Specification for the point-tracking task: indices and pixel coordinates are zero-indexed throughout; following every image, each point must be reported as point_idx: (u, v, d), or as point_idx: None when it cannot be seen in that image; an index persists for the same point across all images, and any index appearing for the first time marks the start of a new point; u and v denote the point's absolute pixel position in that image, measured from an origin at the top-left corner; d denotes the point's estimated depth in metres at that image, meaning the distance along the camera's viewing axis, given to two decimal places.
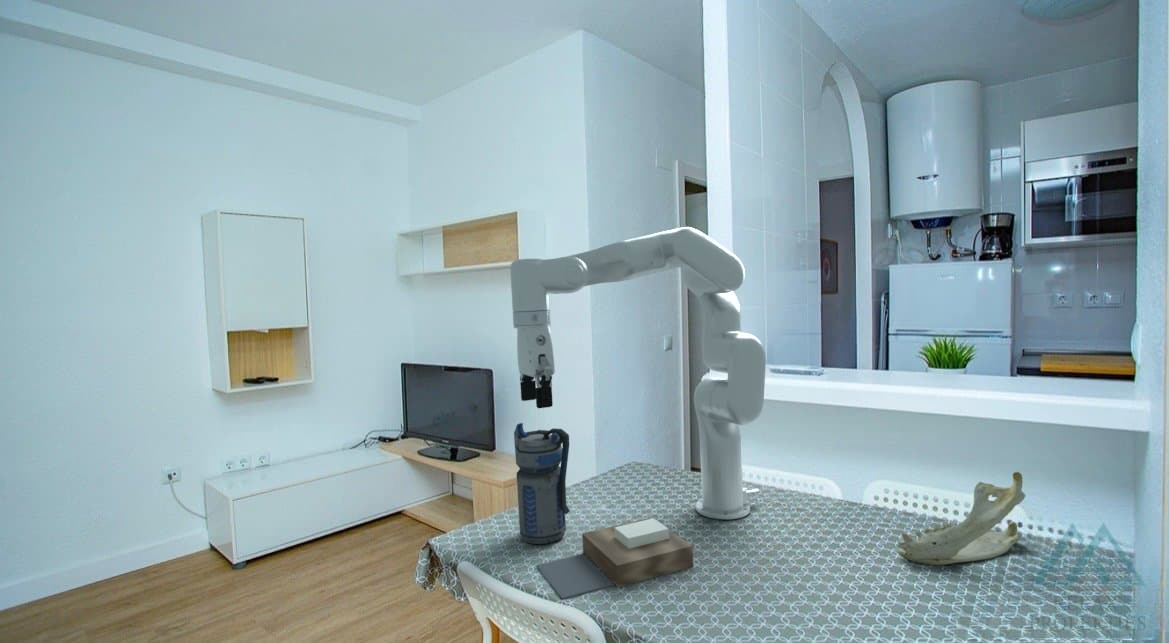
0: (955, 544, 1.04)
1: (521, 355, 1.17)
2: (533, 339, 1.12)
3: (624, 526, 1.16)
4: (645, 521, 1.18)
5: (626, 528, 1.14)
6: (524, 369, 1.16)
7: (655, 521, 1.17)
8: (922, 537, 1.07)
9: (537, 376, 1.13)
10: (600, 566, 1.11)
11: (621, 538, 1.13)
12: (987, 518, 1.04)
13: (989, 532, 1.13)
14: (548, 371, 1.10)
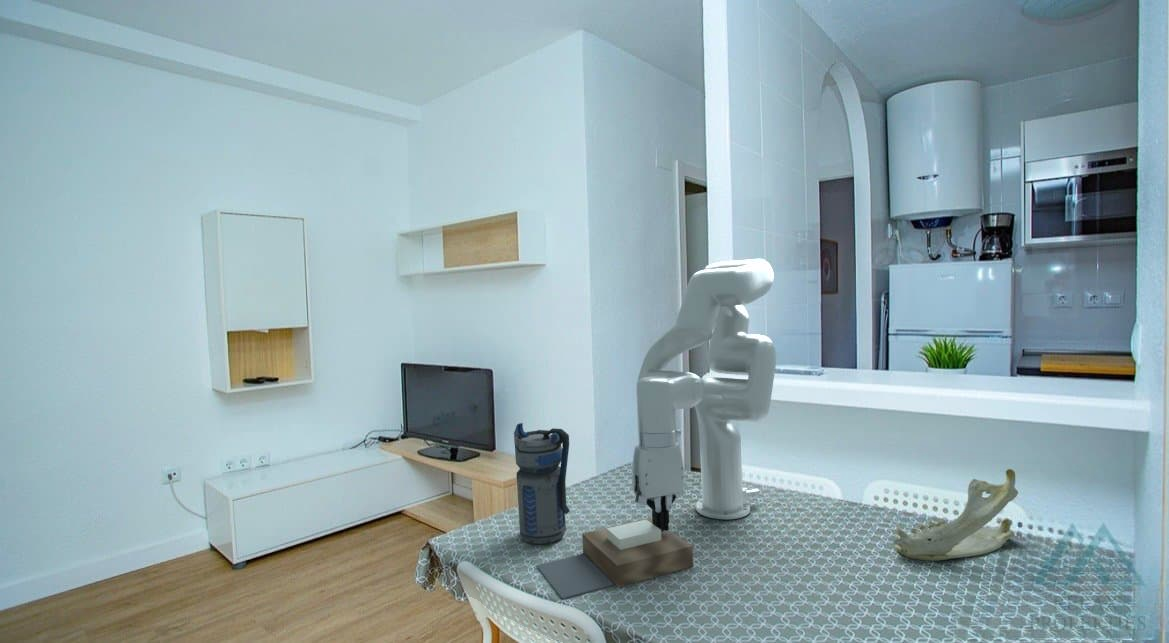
0: (949, 540, 1.06)
1: (662, 477, 1.13)
2: None
3: (616, 527, 1.15)
4: (638, 522, 1.17)
5: (618, 530, 1.14)
6: (665, 490, 1.14)
7: (648, 522, 1.17)
8: (917, 533, 1.09)
9: None
10: (600, 566, 1.11)
11: (613, 539, 1.12)
12: (980, 515, 1.06)
13: (983, 528, 1.15)
14: None
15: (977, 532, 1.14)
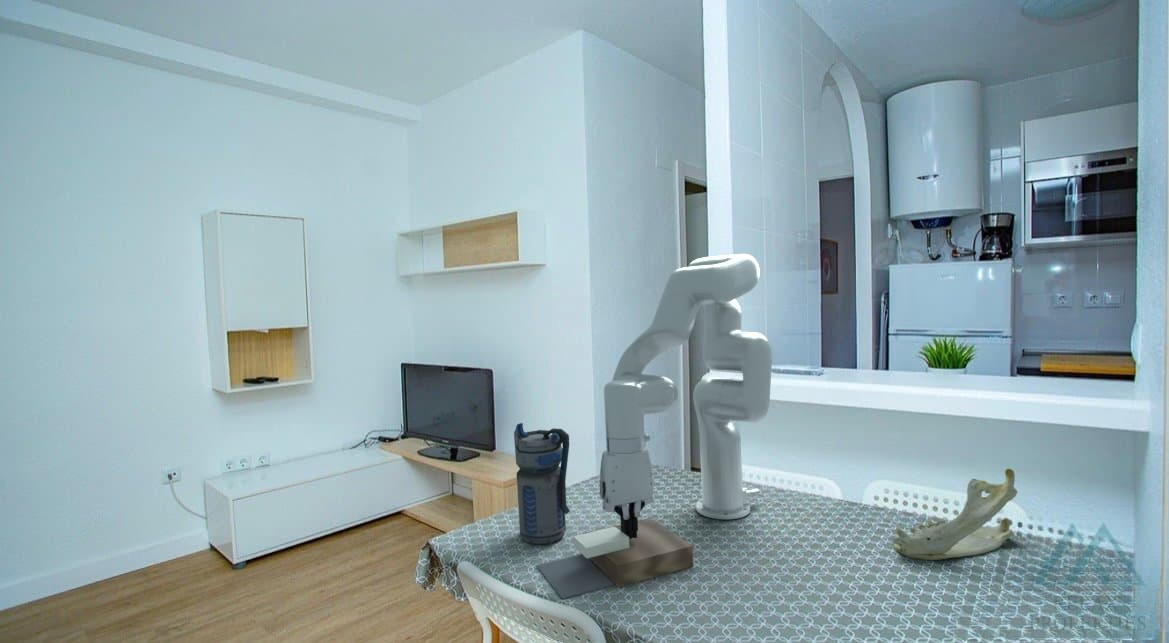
0: (949, 540, 1.06)
1: (630, 483, 1.10)
2: None
3: (584, 535, 1.13)
4: (606, 529, 1.14)
5: (586, 538, 1.11)
6: (633, 496, 1.11)
7: (616, 529, 1.14)
8: (916, 532, 1.09)
9: None
10: (600, 566, 1.11)
11: (580, 547, 1.10)
12: (980, 514, 1.06)
13: (982, 528, 1.15)
14: None
15: (976, 531, 1.14)
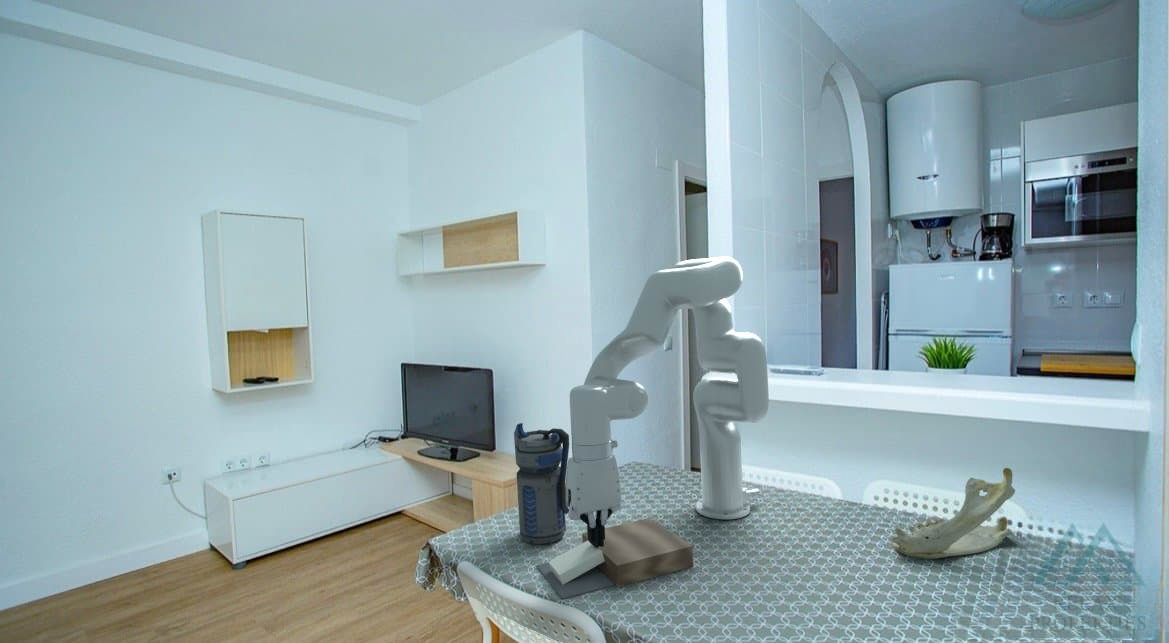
0: (947, 538, 1.07)
1: (596, 491, 1.08)
2: (617, 467, 1.10)
3: (558, 557, 1.10)
4: (580, 546, 1.12)
5: (560, 561, 1.09)
6: (599, 504, 1.08)
7: (590, 543, 1.12)
8: (915, 531, 1.09)
9: None
10: (600, 566, 1.11)
11: (555, 573, 1.08)
12: (978, 513, 1.07)
13: (980, 527, 1.16)
14: None
15: (974, 530, 1.15)
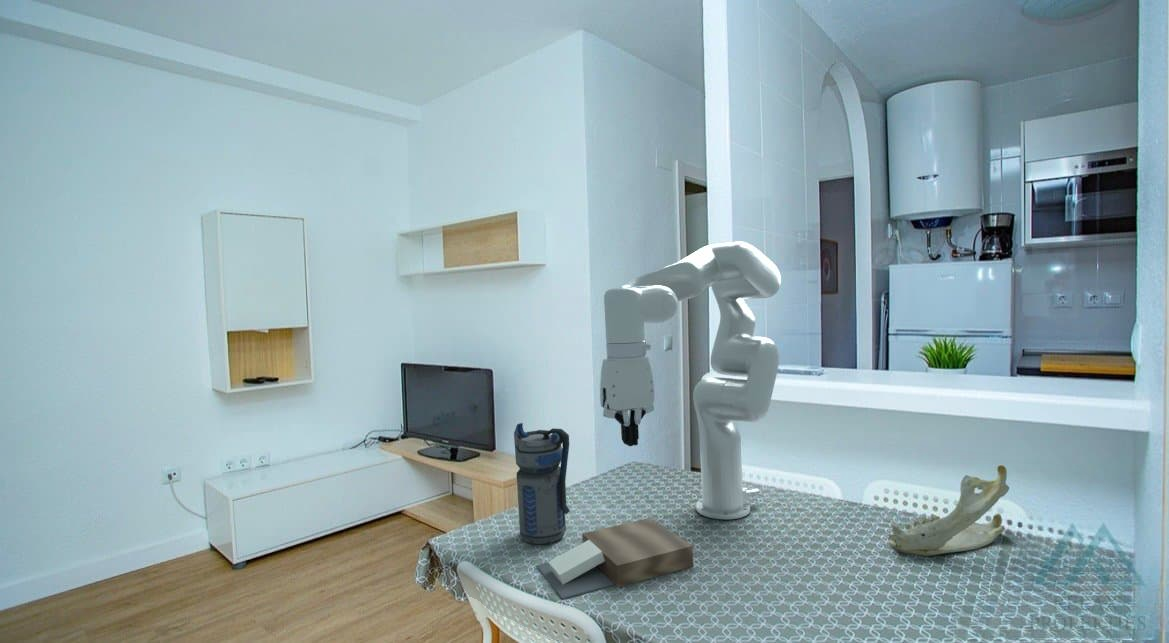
0: (943, 535, 1.08)
1: (631, 389, 1.10)
2: (650, 368, 1.13)
3: (558, 557, 1.10)
4: (580, 546, 1.12)
5: (560, 561, 1.09)
6: (634, 403, 1.11)
7: (590, 543, 1.12)
8: (911, 528, 1.11)
9: None
10: (600, 566, 1.11)
11: (555, 573, 1.08)
12: (973, 510, 1.08)
13: (975, 524, 1.17)
14: None
15: (969, 527, 1.16)
